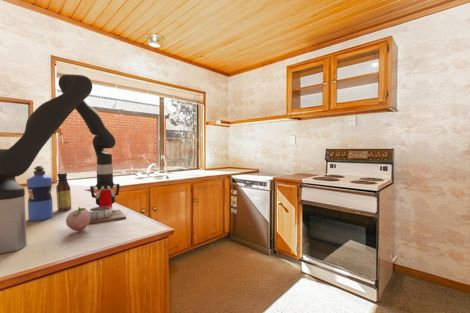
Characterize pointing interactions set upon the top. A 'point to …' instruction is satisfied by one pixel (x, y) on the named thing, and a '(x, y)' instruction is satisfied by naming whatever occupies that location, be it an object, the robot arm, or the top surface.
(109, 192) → the beverage can
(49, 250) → the top surface
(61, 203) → the sauce bottle
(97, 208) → the steel collar
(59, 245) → the top surface
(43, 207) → the water bottle
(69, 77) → the robot arm
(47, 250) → the top surface
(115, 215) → the walnut base board
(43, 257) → the top surface
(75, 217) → the decorative fruit
